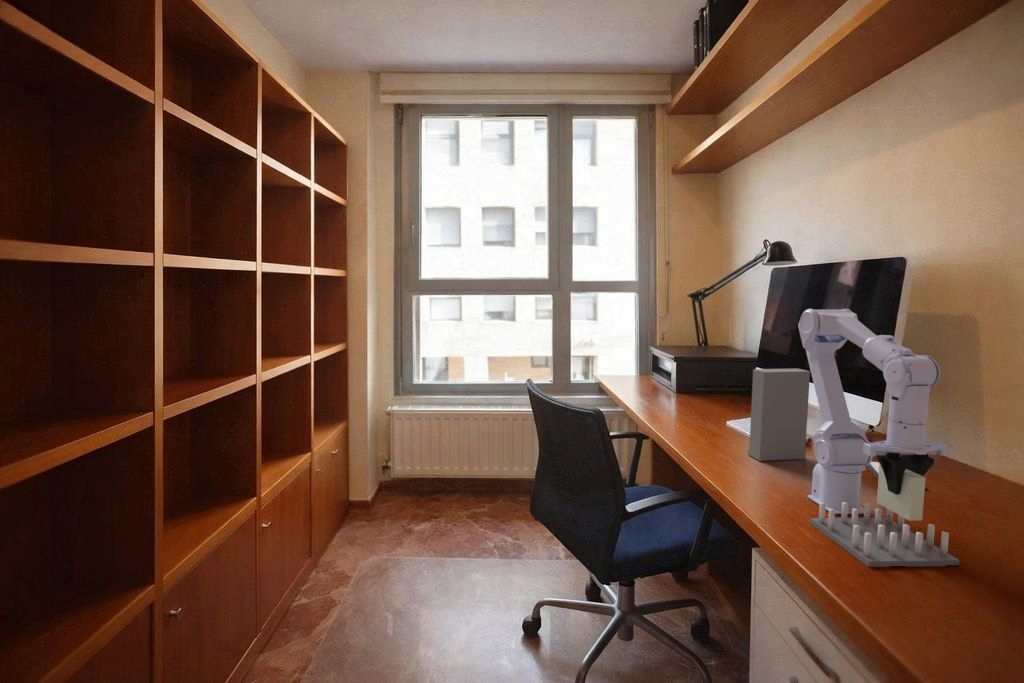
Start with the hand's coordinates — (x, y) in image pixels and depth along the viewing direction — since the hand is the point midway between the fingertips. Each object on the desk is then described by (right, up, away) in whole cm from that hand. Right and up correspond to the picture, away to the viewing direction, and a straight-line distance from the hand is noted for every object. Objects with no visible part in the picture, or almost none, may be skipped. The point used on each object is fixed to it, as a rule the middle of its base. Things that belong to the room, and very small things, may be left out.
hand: (901, 492), depth 98 cm
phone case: (+25, -7, +36) cm, 44 cm away
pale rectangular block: (0, -4, +1) cm, 4 cm away
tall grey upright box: (+2, -5, +51) cm, 51 cm away
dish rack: (-3, -10, +1) cm, 11 cm away
